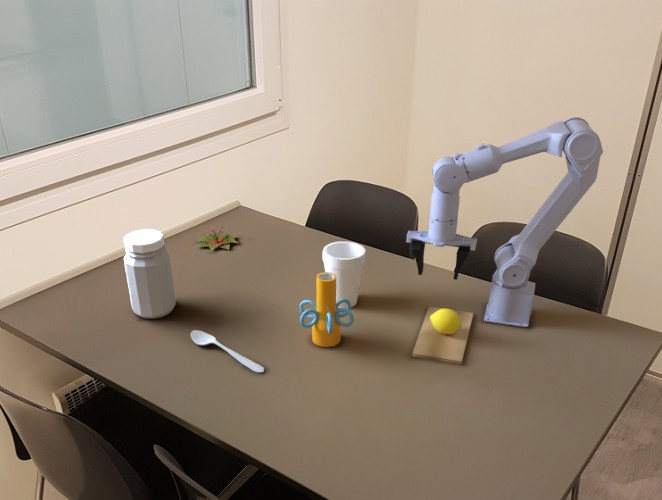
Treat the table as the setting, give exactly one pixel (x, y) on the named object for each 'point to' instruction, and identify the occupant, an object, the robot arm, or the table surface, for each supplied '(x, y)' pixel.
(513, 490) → the table surface
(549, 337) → the table surface
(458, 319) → the lemon
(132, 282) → the jar
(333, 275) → the cylinder
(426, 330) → the birch board
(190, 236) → the table surface
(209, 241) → the lily flower
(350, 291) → the foam cup
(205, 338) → the spoon
